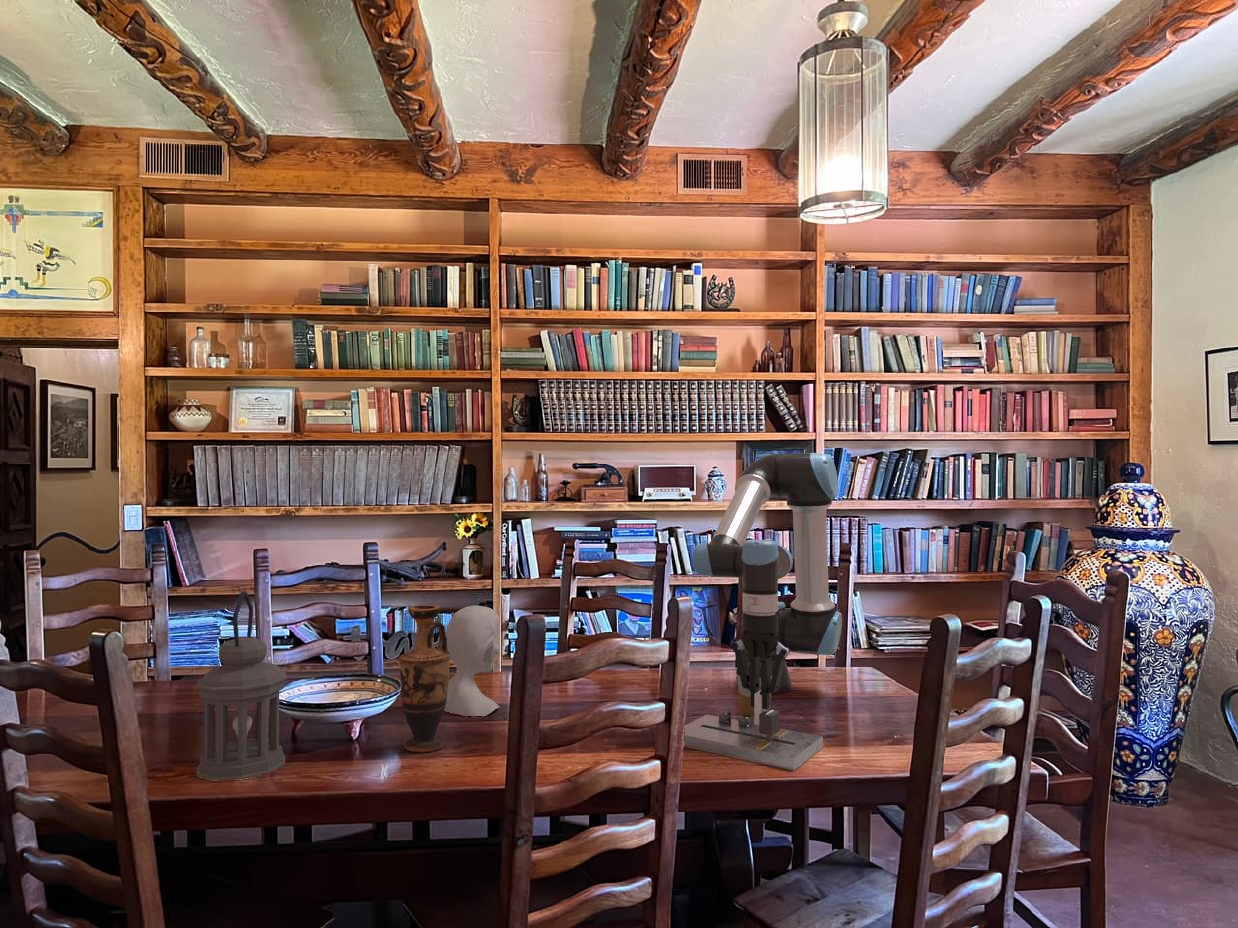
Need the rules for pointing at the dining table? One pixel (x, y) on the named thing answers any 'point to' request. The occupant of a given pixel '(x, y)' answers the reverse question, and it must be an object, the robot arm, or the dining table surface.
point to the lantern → (241, 708)
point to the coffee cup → (746, 696)
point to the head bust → (471, 658)
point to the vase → (425, 681)
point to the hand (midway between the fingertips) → (760, 723)
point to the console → (750, 741)
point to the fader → (769, 723)
